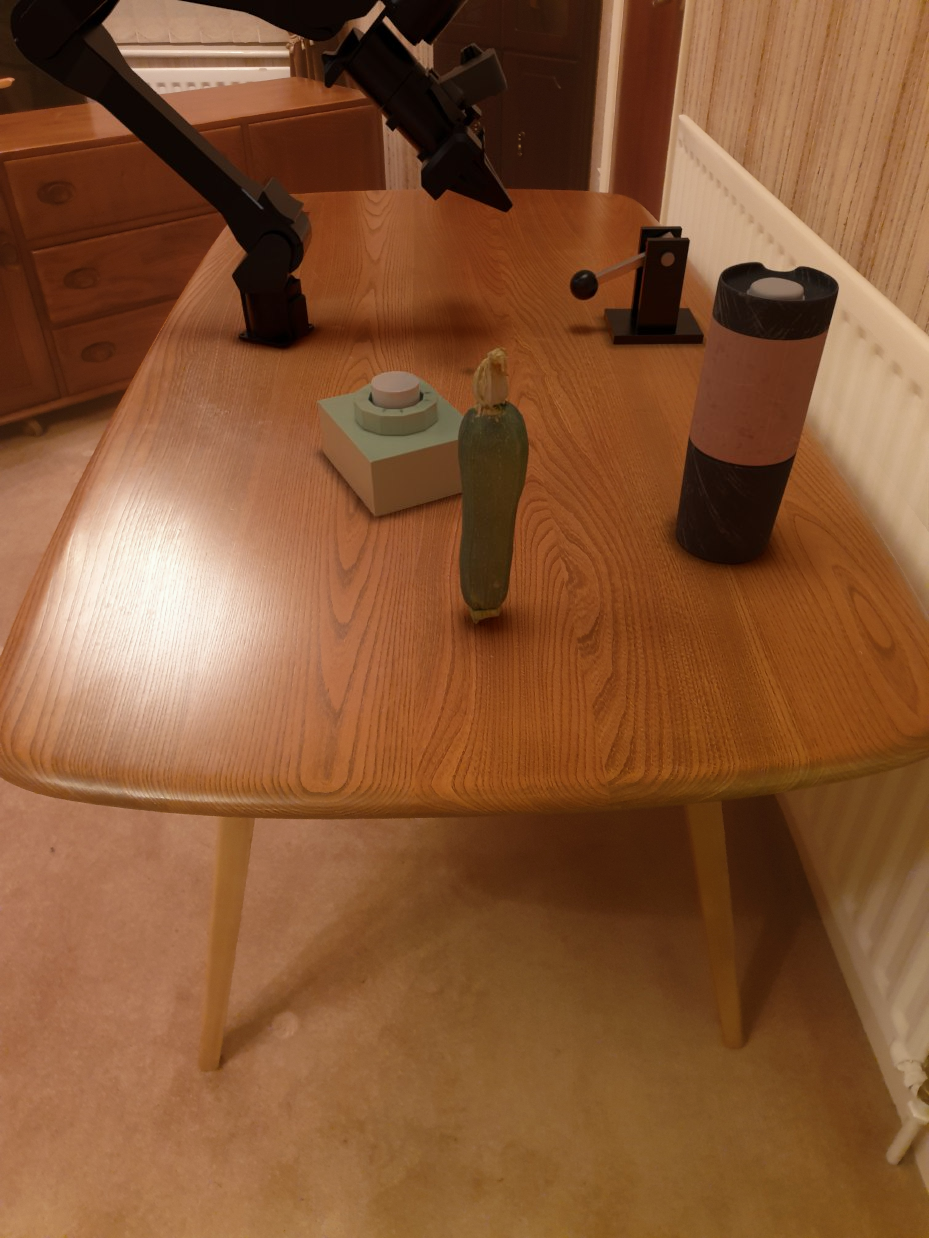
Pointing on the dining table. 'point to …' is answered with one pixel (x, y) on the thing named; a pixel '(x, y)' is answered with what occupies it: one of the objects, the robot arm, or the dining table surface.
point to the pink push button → (395, 390)
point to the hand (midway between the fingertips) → (509, 208)
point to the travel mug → (751, 406)
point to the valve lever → (604, 275)
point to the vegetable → (490, 487)
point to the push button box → (393, 448)
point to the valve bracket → (657, 295)
